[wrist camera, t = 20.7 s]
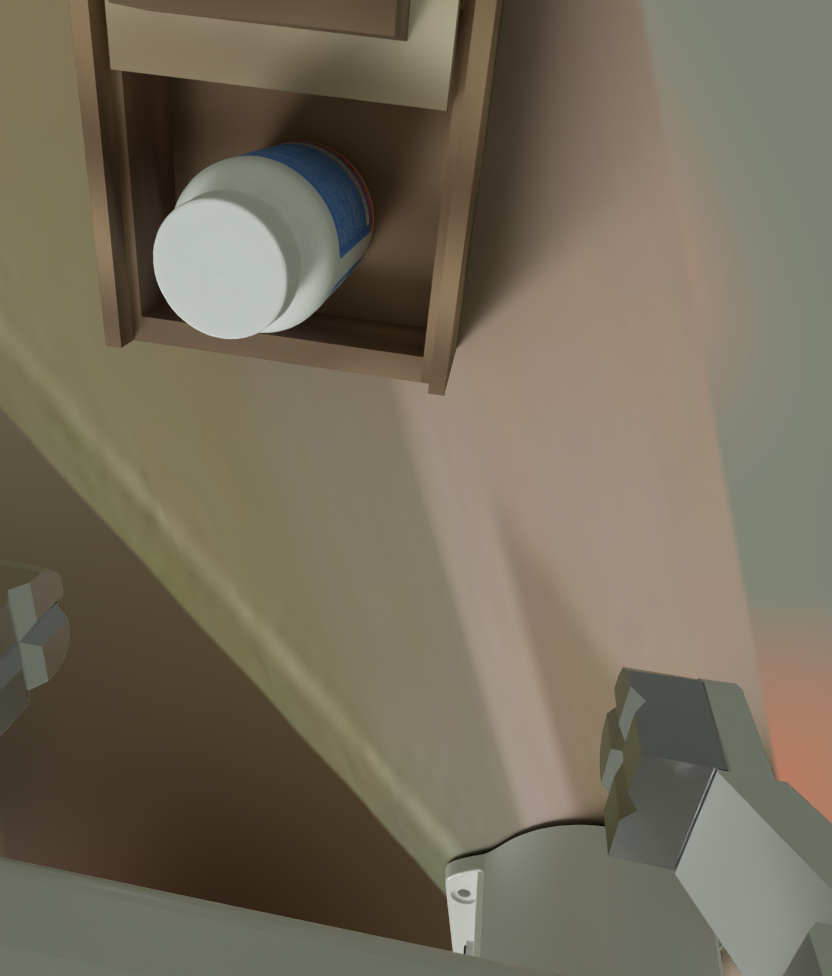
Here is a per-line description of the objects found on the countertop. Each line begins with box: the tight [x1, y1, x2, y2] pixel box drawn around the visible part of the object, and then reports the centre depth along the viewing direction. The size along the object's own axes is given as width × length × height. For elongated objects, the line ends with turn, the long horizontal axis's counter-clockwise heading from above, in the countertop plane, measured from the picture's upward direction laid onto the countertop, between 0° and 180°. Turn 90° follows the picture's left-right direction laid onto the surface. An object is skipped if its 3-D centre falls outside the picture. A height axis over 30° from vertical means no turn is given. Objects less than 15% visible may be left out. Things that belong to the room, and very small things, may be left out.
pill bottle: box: [153, 141, 374, 339], centre depth 25 cm, size 6×5×10 cm
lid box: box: [69, 0, 504, 396], centre depth 27 cm, size 13×13×6 cm
